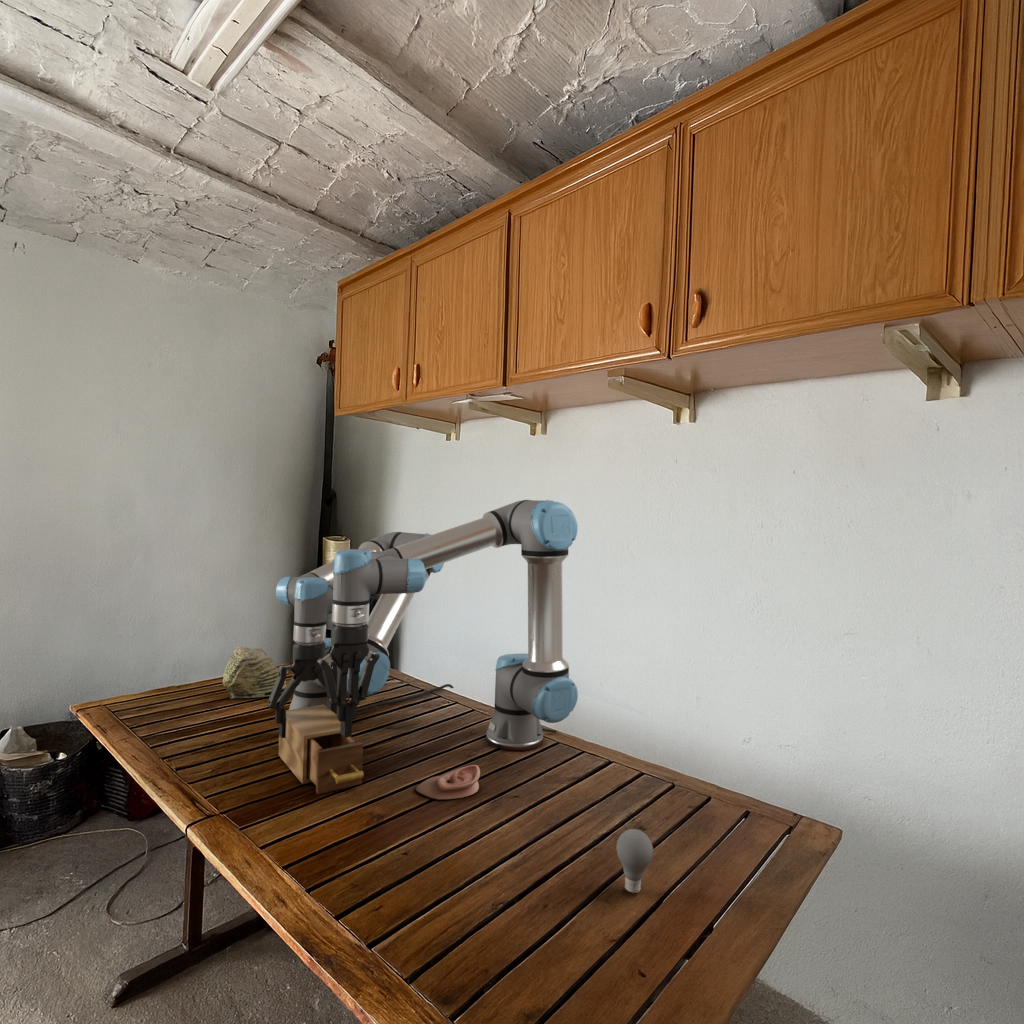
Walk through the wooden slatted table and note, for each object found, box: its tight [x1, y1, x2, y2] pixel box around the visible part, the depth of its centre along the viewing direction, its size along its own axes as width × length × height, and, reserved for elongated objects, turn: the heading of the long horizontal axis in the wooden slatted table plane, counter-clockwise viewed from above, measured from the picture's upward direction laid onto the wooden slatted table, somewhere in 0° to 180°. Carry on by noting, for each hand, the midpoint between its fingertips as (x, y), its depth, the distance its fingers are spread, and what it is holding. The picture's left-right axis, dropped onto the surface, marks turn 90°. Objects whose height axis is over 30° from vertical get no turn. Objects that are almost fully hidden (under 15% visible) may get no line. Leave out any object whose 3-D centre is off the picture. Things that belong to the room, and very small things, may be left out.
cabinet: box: [278, 705, 341, 785], centre depth 149 cm, size 19×11×11 cm, turn 36°
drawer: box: [306, 733, 365, 795], centre depth 140 cm, size 23×10×9 cm, turn 36°
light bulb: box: [615, 828, 654, 894], centre depth 106 cm, size 6×6×10 cm
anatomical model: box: [415, 764, 481, 800], centre depth 140 cm, size 13×4×12 cm
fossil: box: [222, 646, 288, 699], centre depth 198 cm, size 9×18×15 cm, turn 132°
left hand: (306, 731), depth 154 cm, fingers closed on cabinet, 11 cm apart
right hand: (345, 735), depth 133 cm, fingers closed
